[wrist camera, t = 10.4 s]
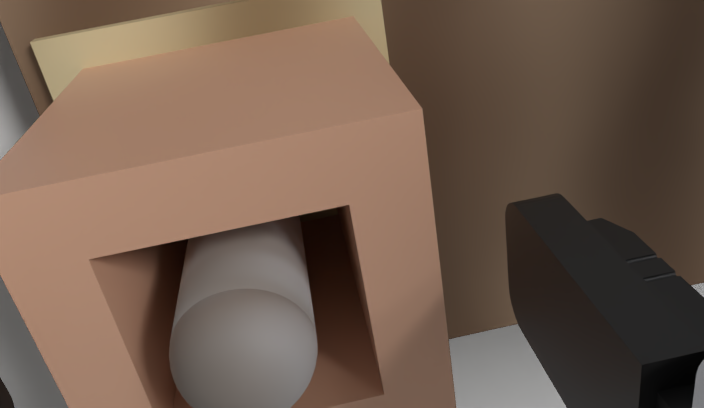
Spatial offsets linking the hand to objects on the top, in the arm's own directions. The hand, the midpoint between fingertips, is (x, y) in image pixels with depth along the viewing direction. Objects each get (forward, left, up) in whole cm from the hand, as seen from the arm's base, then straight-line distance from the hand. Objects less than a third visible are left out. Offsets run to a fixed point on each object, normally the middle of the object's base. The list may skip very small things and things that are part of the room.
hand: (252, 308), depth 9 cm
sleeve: (0, 0, -5) cm, 5 cm away
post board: (-4, 0, -7) cm, 8 cm away
